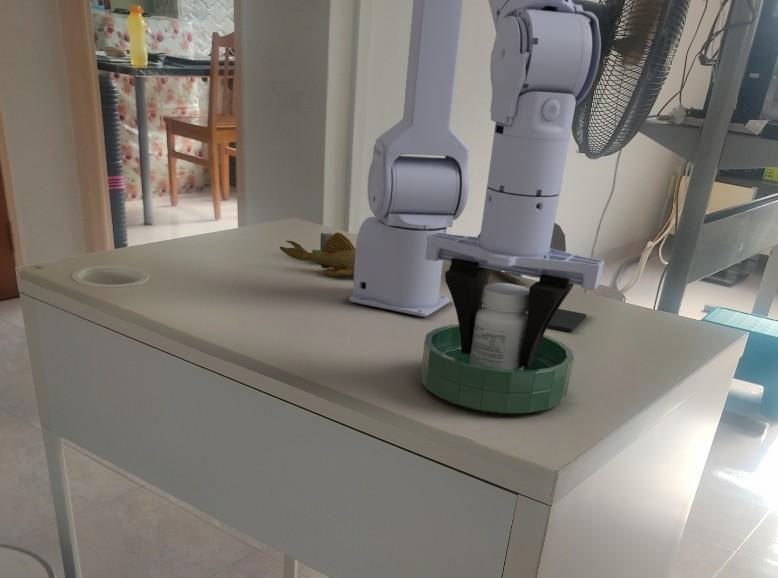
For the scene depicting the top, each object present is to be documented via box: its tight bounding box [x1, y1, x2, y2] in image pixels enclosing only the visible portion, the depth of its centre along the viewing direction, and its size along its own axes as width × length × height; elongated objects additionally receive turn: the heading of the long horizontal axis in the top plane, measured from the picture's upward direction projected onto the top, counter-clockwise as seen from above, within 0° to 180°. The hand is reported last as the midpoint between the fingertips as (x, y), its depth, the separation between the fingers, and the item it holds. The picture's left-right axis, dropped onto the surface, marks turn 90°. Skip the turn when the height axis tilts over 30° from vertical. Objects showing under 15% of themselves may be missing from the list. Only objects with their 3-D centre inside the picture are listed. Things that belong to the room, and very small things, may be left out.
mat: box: [526, 308, 587, 333], centre depth 95 cm, size 8×7×1 cm
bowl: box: [420, 323, 575, 415], centre depth 73 cm, size 13×13×4 cm
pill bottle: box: [469, 282, 530, 370], centre depth 72 cm, size 5×5×8 cm
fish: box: [279, 232, 356, 278], centre depth 104 cm, size 5×14×5 cm, turn 77°
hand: (496, 357), depth 73 cm, fingers closed on pill bottle, 5 cm apart
